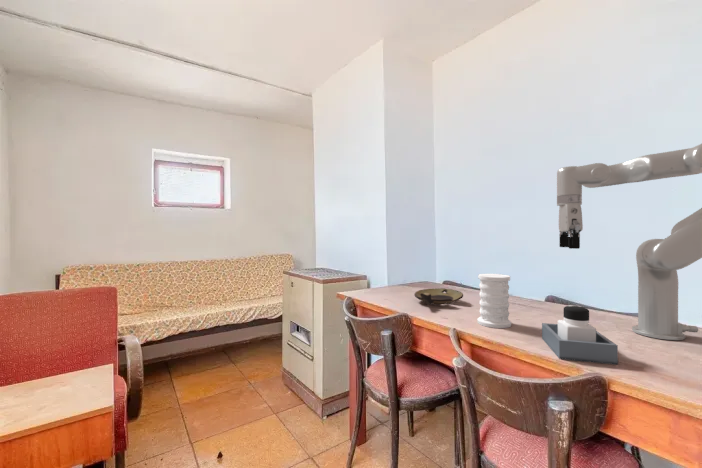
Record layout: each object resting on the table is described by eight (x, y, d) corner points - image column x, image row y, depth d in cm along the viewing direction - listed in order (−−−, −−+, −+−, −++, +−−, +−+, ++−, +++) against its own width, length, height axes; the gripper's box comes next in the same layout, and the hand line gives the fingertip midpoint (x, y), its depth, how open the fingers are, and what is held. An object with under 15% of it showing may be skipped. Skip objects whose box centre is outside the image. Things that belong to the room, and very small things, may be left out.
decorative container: (473, 319, 124) (473, 273, 124) (504, 319, 123) (504, 273, 123) (482, 327, 113) (482, 277, 113) (516, 328, 112) (516, 277, 111)
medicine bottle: (596, 354, 87) (596, 310, 87) (567, 351, 88) (567, 309, 88) (584, 345, 94) (584, 304, 94) (557, 343, 95) (557, 303, 95)
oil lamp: (474, 304, 150) (474, 288, 150) (428, 313, 134) (428, 294, 134) (438, 296, 169) (438, 281, 169) (394, 303, 153) (394, 287, 153)
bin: (589, 342, 97) (589, 326, 97) (617, 364, 81) (617, 345, 81) (542, 338, 101) (542, 322, 101) (559, 358, 85) (559, 340, 85)
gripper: (591, 198, 106) (591, 249, 106) (572, 202, 123) (572, 246, 123) (565, 199, 108) (565, 248, 109) (550, 203, 125) (550, 246, 125)
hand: (569, 247), depth 116 cm, fingers open, 9 cm apart
